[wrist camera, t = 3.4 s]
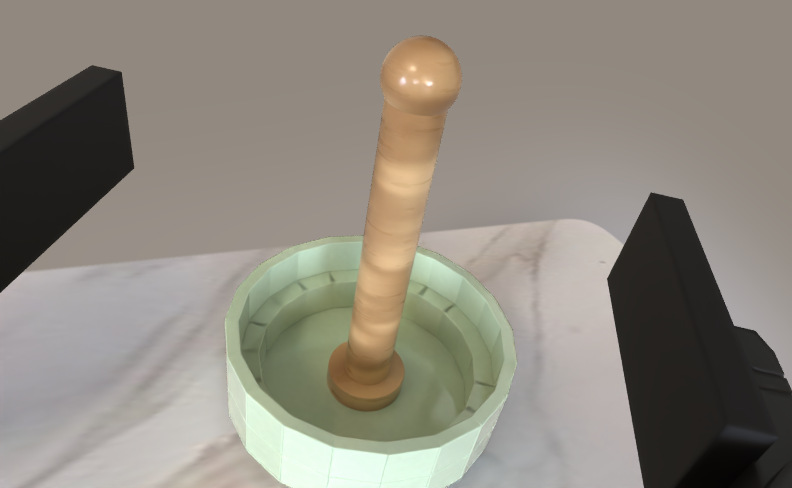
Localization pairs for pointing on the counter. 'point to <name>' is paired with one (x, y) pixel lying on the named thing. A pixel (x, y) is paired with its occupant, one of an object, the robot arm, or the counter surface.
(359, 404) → the wooden pestle
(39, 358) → the counter surface
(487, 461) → the counter surface
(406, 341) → the bowl
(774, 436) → the robot arm
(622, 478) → the counter surface
